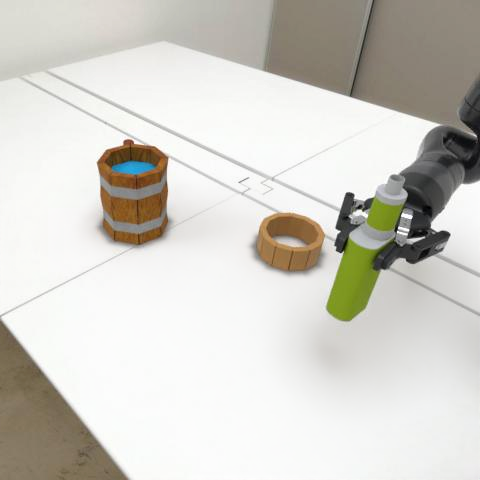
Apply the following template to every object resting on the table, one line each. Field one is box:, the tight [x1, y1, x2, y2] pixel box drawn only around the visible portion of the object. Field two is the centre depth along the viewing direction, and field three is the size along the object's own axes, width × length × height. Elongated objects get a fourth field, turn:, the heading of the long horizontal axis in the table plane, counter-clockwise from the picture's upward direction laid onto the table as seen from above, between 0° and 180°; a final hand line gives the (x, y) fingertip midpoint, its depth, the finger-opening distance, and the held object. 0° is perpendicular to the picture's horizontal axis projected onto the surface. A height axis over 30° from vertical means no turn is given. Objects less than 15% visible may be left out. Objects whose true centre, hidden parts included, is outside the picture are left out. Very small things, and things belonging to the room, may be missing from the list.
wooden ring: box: [256, 212, 326, 272], centre depth 86 cm, size 12×12×5 cm
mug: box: [96, 138, 169, 246], centre depth 92 cm, size 20×14×15 cm
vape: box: [325, 173, 408, 323], centre depth 56 cm, size 4×6×20 cm, turn 128°
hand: (358, 255), depth 54 cm, fingers closed on vape, 4 cm apart
